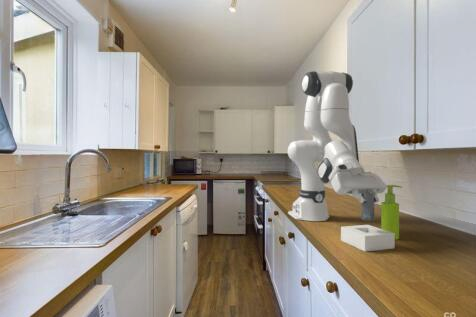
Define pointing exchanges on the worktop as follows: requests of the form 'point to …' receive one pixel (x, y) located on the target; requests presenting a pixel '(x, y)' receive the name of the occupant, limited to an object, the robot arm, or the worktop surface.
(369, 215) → the metal peg
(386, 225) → the soap dispenser
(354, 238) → the socket block
